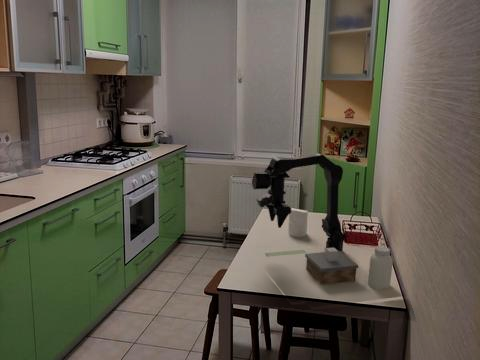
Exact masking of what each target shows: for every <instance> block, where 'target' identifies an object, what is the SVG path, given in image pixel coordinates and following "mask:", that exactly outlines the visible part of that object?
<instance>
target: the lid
mask: <svg viewBox="0 0 480 360" xmlns="http://www.w3.org/2000/svg"><path fill="white" fill-rule="evenodd" d="M325 248H326V247H325ZM304 255H305V256H304V257H305V258H306V260H307V259H308V260H309V261H310V262H311V263H313V264H314V265H315V266H316V267H317V268H318V269H319V270H320V271H321V272H325V271H336V270H346V269H356V270H357V269H359V264H358V263H356V262H355V261H353V260H352V259H351V258H350V257H349V256H347V255H346V254H345V253H343V251H338V250H336V249H335V248H326V250H325V251H322V252H311V253H309V252H308V253H304Z"/></svg>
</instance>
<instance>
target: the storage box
mask: <svg viewBox="0 0 480 360" xmlns="http://www.w3.org/2000/svg"><path fill="white" fill-rule="evenodd" d="M305 269H306V271H307V272H308V273H309V274H310V275H311V276H312V277H313V278H314V279H315V280H316V281H318V283H319V284H320V285H327V284H328V285H329V284H338V283H347V282H348V283H349V282H356V278H357V277H356V275H357V268H356V269H346V270H336V271H325V272H321V271H320V270H319V269H318V268H317V267H316V266H315V265H314V264H313V263H311V262H310V261H309V260H308V259H307V258H306V266H305Z"/></svg>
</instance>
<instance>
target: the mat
mask: <svg viewBox="0 0 480 360" xmlns="http://www.w3.org/2000/svg"><path fill="white" fill-rule="evenodd" d="M264 254H265V255H266V256H267V257H268V258H269V257H278V256H291V255H302V254H304V255H305V254H308V252H307V251H306V250H305V249H299V250H298V249H297V250H285V251H274V252H273V251H272V252H271V251H270V252H265V253H264Z"/></svg>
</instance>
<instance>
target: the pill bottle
mask: <svg viewBox="0 0 480 360" xmlns="http://www.w3.org/2000/svg"><path fill="white" fill-rule="evenodd" d="M390 254H391V249H390V248H389V247H386V246H382V245H380V246H375V248H374V253H373V254H371V256H370V259H369V266H368V268H369V269H368V277H367V285H368V286H369V287H371V288H373V289H376V290H388V289H390V287H391V279H392V271H393V262H394V261H393V260H394V259H393V257H392V256H391V255H390Z"/></svg>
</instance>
